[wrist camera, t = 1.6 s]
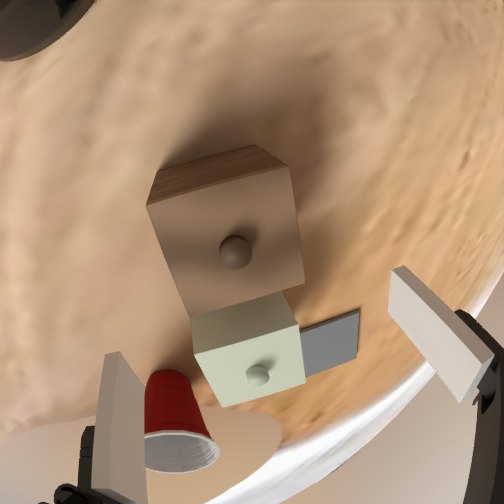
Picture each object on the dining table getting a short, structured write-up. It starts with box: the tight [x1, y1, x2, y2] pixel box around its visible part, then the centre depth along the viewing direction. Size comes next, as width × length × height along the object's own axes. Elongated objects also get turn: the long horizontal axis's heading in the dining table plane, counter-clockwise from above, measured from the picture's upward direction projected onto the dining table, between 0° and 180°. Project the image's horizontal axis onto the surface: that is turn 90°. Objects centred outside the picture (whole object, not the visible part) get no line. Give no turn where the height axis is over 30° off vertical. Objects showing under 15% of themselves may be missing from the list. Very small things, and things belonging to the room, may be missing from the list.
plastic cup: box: [144, 370, 220, 473], centre depth 33 cm, size 11×11×12 cm
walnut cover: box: [146, 145, 305, 317], centre depth 24 cm, size 9×9×10 cm
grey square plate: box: [299, 310, 359, 377], centre depth 41 cm, size 10×10×1 cm
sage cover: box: [190, 291, 306, 407], centre depth 30 cm, size 9×9×10 cm
